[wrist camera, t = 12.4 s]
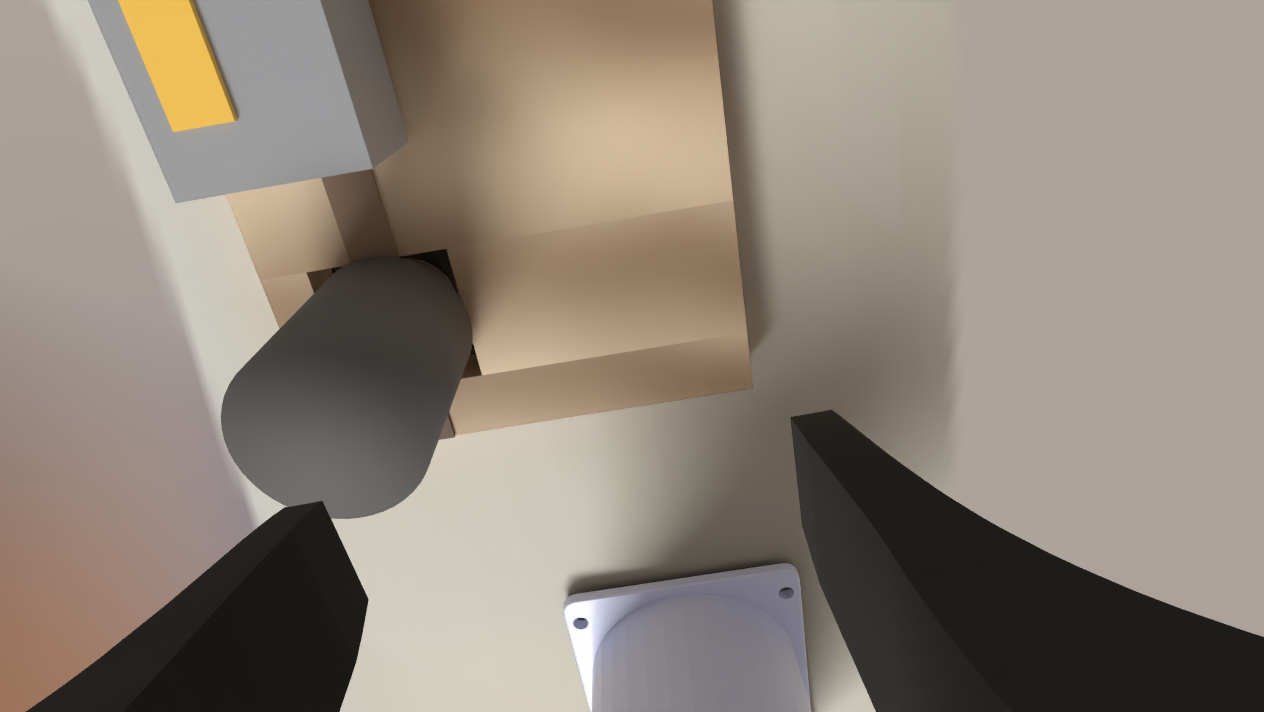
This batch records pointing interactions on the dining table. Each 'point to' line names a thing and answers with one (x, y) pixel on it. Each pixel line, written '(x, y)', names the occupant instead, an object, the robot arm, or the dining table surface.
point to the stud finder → (254, 89)
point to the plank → (543, 202)
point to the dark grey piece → (352, 389)
